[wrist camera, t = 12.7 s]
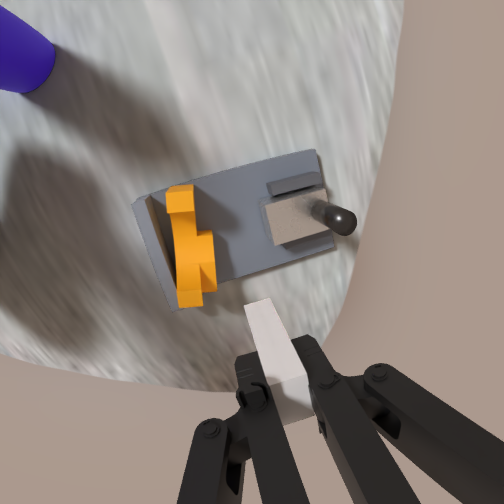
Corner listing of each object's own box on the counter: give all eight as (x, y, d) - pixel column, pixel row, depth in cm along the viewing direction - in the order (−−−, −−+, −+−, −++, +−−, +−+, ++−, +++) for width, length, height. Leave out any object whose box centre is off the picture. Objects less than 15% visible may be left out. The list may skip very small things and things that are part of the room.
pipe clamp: (215, 280, 38) (219, 304, 32) (180, 283, 37) (178, 307, 31) (208, 182, 34) (211, 189, 28) (170, 186, 33) (165, 192, 27)
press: (172, 292, 39) (170, 312, 34) (138, 197, 34) (129, 205, 29) (329, 243, 41) (347, 256, 36) (310, 148, 36) (328, 148, 31)
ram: (266, 236, 37) (291, 265, 28) (257, 199, 35) (280, 217, 26) (320, 220, 38) (359, 242, 28) (313, 184, 36) (353, 196, 27)
